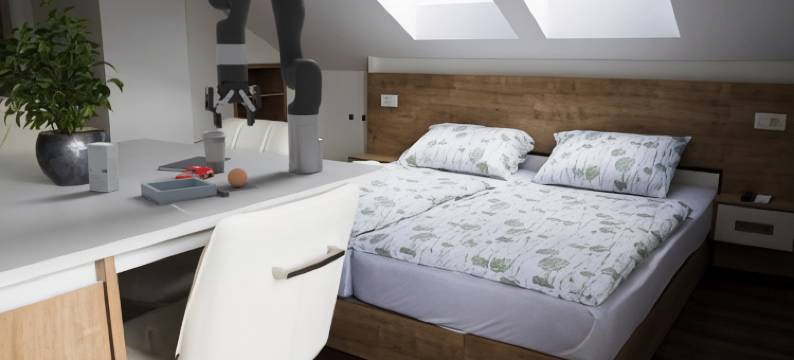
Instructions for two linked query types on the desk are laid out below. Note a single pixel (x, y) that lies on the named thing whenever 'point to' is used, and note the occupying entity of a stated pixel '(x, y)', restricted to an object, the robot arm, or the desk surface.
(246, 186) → the tee mat
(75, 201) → the desk surface
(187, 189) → the blue-grey tray
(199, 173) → the race car
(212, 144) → the cup
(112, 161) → the skincare box
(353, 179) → the desk surface
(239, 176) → the ball
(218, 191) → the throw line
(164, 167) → the notebook
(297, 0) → the robot arm
